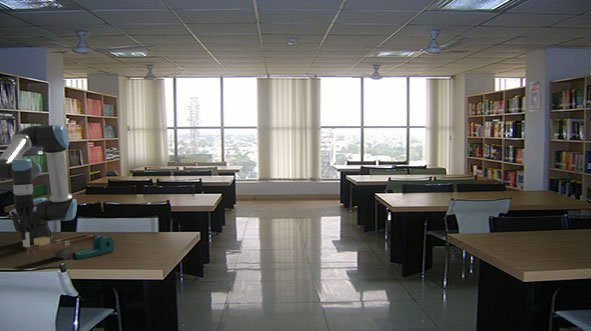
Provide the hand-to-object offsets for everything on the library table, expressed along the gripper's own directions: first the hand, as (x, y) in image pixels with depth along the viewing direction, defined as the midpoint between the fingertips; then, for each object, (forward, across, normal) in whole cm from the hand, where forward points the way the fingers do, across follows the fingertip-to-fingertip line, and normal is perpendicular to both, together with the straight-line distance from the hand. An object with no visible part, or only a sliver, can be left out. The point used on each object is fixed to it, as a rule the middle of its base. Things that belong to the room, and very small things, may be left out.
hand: (26, 246), depth 218 cm
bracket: (+9, +27, -9) cm, 30 cm away
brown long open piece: (+9, +17, 0) cm, 19 cm away
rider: (+3, +7, 0) cm, 8 cm away
